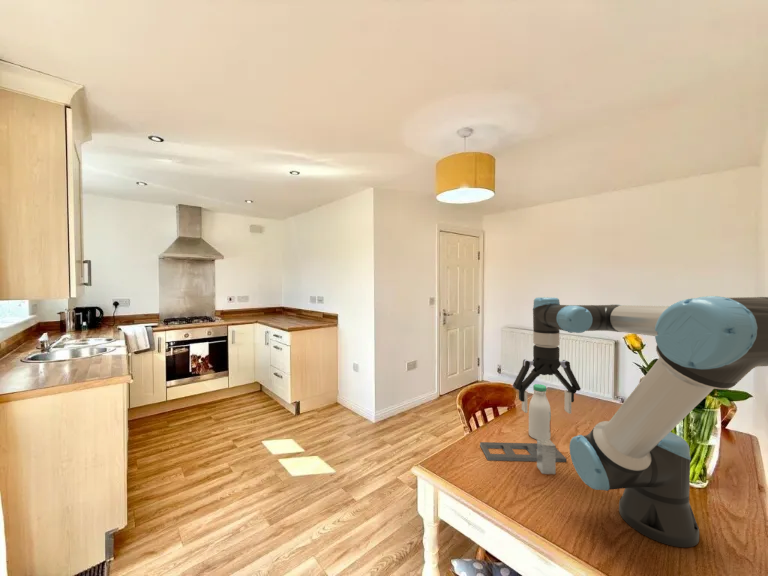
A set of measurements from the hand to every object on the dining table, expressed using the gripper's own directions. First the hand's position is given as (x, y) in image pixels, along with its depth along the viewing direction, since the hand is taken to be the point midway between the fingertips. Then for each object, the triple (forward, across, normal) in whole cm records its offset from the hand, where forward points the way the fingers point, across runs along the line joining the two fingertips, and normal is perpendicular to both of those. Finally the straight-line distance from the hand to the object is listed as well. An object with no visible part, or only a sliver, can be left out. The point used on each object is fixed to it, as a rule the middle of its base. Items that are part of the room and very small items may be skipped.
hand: (546, 411), depth 103 cm
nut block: (+19, 0, 0) cm, 19 cm away
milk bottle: (+18, -8, -23) cm, 30 cm away
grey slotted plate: (+18, +4, -10) cm, 21 cm away
